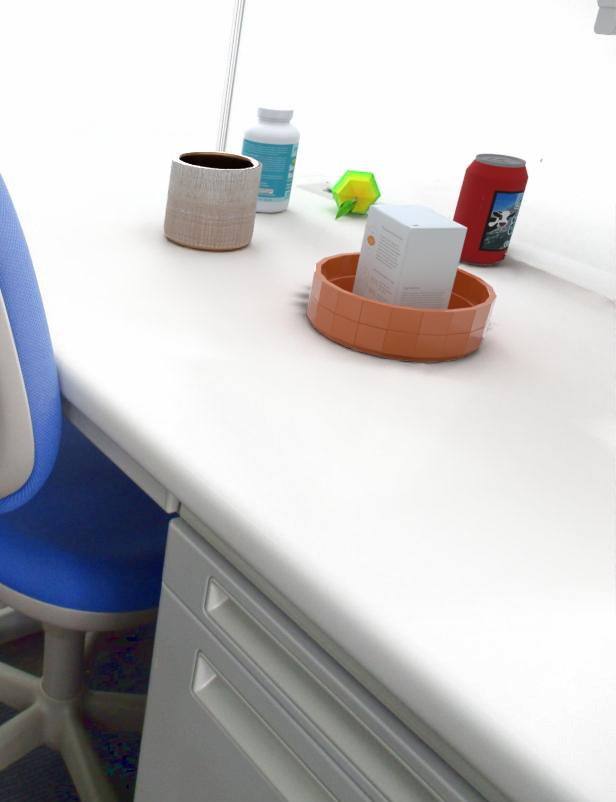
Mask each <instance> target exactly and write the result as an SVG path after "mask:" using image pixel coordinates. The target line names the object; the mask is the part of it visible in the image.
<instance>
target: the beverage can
mask: <svg viewBox="0 0 616 802" xmlns="http://www.w3.org/2000/svg"><path fill="white" fill-rule="evenodd" d="M526 165H527V160H525V159H522V158H520V157H516V156H511V155H508V154H507V155H506V154H499V153H479V154H476V155H475V158H474V159H473V160H472V162H471V163H470V164H469V165H468V166H467V167H466V169H465V173H464V175H463V180H462V183H461V187H460V190H459V195H458V198H457V202H456V206H455V210H454V214H453V219H452V220H453V221H455V222H457V223H459V224H461V225H463V226H465V227H467V232H466V236H465V240H464V244H463V248H462V252H461V256H460V260H459V262H461V263H464V264H468V265H473V266H481V267H482V266H483V267H484V266H485V267H486V266H493V265H495V264H497V263H499V262H502V261H504V260H505V259H506V256H507V252H508V250H509V246H510V243H511V239H512V236H513V232H514V229H515V226H516V223H517V220H518V215H519V212H520V209H521V205H522V202H523V199H524V196H525V191H526V187H527V185H528V180H529V173H528V170H527V166H526Z"/></svg>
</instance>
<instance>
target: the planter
mask: <svg viewBox="0 0 616 802" xmlns="http://www.w3.org/2000/svg"><path fill="white" fill-rule="evenodd" d="M261 171H262V163H261V162H259V161H258V160H256V159H253V158H251V157H247V156H244V155H241V154H239V153H232V152H226V151H216V150H187V151H182V152H177V153H175V154H173V155H172V156H171V160H170V170H169V177H168V186H167V188H168V189H167V197H166V205H165V211H164V221H163V233H164V235H165V236H166V237H167V238H168V239H170V240H171V241H172V242H173V243H176V244H178V245H180V246H182V247H186V248H190V249H195V250H202V251H214V252H215V251H216V252H222V251H233V250H238V249H241V248H243V247H245V246H247V245H249V244H250V243H251V241H252V239H253V235H254V229H255V222H256V215H257V214H256V213H257V212H256V207H257V200H258V192H259V185H260V178H261Z"/></svg>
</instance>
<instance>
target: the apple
mask: <svg viewBox="0 0 616 802" xmlns="http://www.w3.org/2000/svg"><path fill="white" fill-rule="evenodd" d="M330 190H331V194H332V196H333V198H334V202H335V204H336V206H337V209H338V211H337V213H336V215H335V218H334V221H336V220H338V219H340V218H342V217H344V216H346V215H348V214H354V215H362V216H365V215H366V213H368V211H369V207H370V205H375V203H376V202H377V201H378V200H379V199H380V198H381V196H382V194H381V192H380V189H379V186H378V183H377V180H376V177H375V174H374V172H369V171H360V170H352V169H347V170H346V171H345V172H344V174H343V175H342V176H341V177H340V178H339V179H338V180H337V182H336V183H335V184H334V185H333V187H332V188H331V189H330Z"/></svg>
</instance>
